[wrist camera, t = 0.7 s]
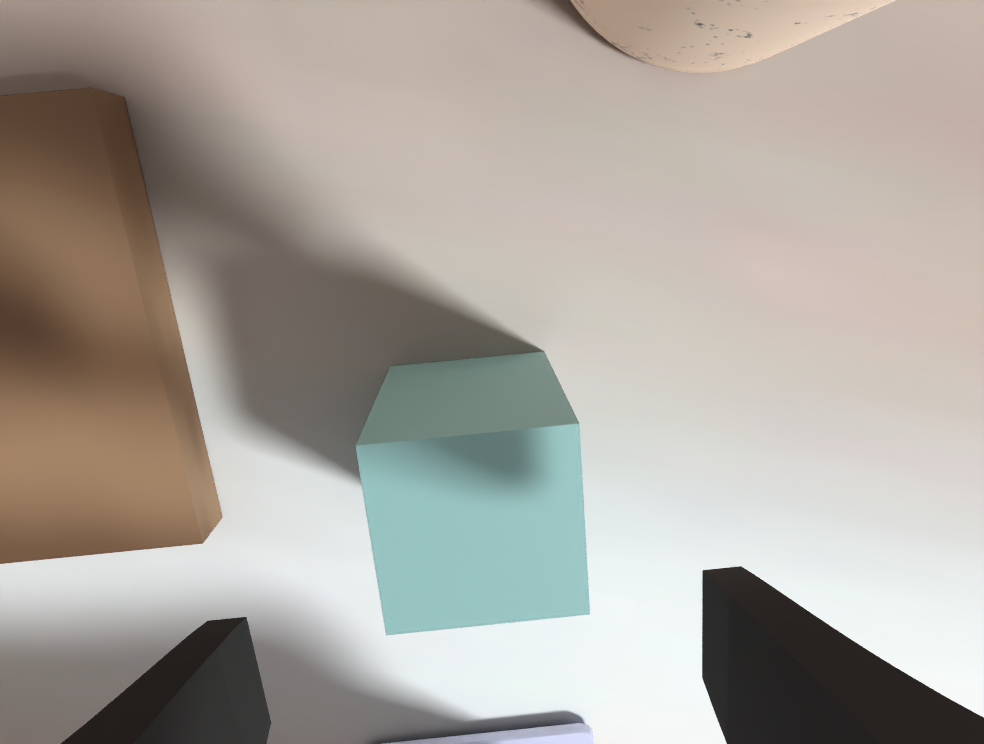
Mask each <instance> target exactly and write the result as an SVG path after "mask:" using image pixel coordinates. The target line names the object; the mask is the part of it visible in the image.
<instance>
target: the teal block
mask: <svg viewBox="0 0 984 744" xmlns="http://www.w3.org/2000/svg"><path fill="white" fill-rule="evenodd" d="M355 447H356V453H357V459H358V466H359V472H360V478H361V484H362V490H363V496H364V502H365V508H366V515H367V521H368V527H369V533H370V539H371V545H372V551H373V557H374V564H375V570H376V576H377V582H378V588H379V594H380V600H381V607H382V613H383V619H384V625H385V631H386V635H394V634H403V633H413V632H423V631H433V630H442V629H452V628H462V627H471V626H481V625H491V624H501V623H510V622H520V621H530V620H539V619H549V618H559V617H569V616H578V615H588V614H590V607H589V589H588V571H587V554H586V536H585V518H584V500H583V482H582V464H581V446H580V428H579V422H578V420H577V418H576V416H575V414H574V412H573V410H572V408H571V406H570V403H569V401H568V399H567V397H566V395H565V393H564V391H563V389H562V387H561V385H560V383H559V381H558V379H557V377H556V375H555V373H554V371H553V369H552V367H551V364H550V362H549V360H548V358H547V356H546V354H545V352H544V351H541V352H531V353H521V354H511V355H500V356H490V357H480V358H470V359H459V360H449V361H439V362H429V363H418V364H408V365H398V366H390V368H389V370H388V373H387V375H386V377H385V379H384V382H383V384H382V386H381V388H380V391H379V393H378V395H377V398H376V400H375V402H374V404H373V407H372V409H371V411H370V413H369V416H368V418H367V420H366V423H365V425H364V427H363V429H362V432H361V434H360V436H359V438H358V441H357V443H356V445H355Z"/></svg>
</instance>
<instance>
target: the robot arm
mask: <svg viewBox="0 0 984 744" xmlns="http://www.w3.org/2000/svg"><path fill="white" fill-rule="evenodd" d="M702 678H703V681H704V683H705V686H706V689H707V692H708V695H709V697H710V700H711V703H712V706H713V708H714V711H715V714H716V716H717V719H718V722H719V724H720V727H721V729H722V732H723V735H724V737H725V740H726V742H727V744H984V718H983V717H982V716H980V715H978V714H976V713H974V712H972V711H970V710H968V709H967V708H965V707H963V706H961V705H959V704H957V703H956V702H954V701H952V700H950V699H948V698H947V697H945V696H943V695H941V694H940V693H938V692H936V691H935V690H933V689H931V688H929V687H928V686H926V685H924V684H923V683H921V682H919V681H918V680H916V679H914V678H912V677H911V676H909V675H907V674H906V673H904V672H902V671H901V670H899V669H897V668H895V667H894V666H892V665H891V664H889V663H887V662H886V661H884V660H882V659H881V658H879V657H878V656H876V655H874V654H873V653H871V652H870V651H868V650H866V649H865V648H863V647H862V646H860V645H859V644H857V643H855V642H854V641H852V640H851V639H849V638H848V637H846V636H845V635H843V634H842V633H840V632H839V631H837V630H835V629H834V628H832V627H831V626H829V625H828V624H826V623H825V622H823V621H822V620H820V619H819V618H817V617H816V616H814V615H813V614H811V613H810V612H809V611H807V610H806V609H804V608H803V607H801V606H800V605H798V604H797V603H795V602H794V601H792V600H791V599H789V598H788V597H786V596H785V595H784V594H782V593H781V592H779V591H778V590H776V589H775V588H773V587H772V586H770V585H769V584H767V583H766V582H764V581H763V580H761V579H760V578H758V577H757V576H755V575H754V574H752V573H751V572H749V571H748V570H746V569H744V568H743V567H741V566H740V567H731V568H721V569H711V570H703V627H702ZM270 725H271V720H270V716H269V712H268V708H267V703H266V699H265V695H264V690H263V686H262V682H261V678H260V673H259V669H258V665H257V660H256V656H255V652H254V648H253V643H252V639H251V635H250V630H249V626H248V622H247V618H246V617H241V618H231V619H222V620H212V621H207V622H206V623H204V624H203V625H202V626H200V627H199V628H198V629H196V630H195V631H194V632H193V633H191V634H190V635H189V636H188V637H187V638H185V639H184V640H183V641H182V642H181V643H179V644H178V645H177V646H176V647H175V648H174V649H172V650H171V651H170V652H169V653H168V654H167V655H165V656H164V657H163V658H162V659H161V660H160V661H158V662H157V663H156V664H155V665H154V666H153V667H151V668H150V669H149V670H148V671H147V672H146V673H145V674H143V675H142V676H141V677H140V678H139V679H138V680H136V681H135V682H134V683H133V684H132V685H131V686H129V687H128V688H127V689H126V690H125V691H124V692H122V693H121V694H120V695H119V696H118V697H117V698H115V699H114V700H113V701H112V702H111V703H109V704H108V705H107V706H106V707H105V708H104V709H102V710H101V711H100V712H99V713H98V714H97V715H95V716H94V717H93V718H92V719H91V720H90V721H88V722H87V723H86V724H85V725H84V726H82V727H81V728H80V729H79V730H77V731H76V732H75V733H74V734H72V735H71V736H70V737H69V738H67V739H66V740H65V741H64V742H62V743H61V744H266V742H267V738H268V734H269V729H270ZM383 744H595V739H594V734H593V731H592V729H591V728H590V726H589V725H586V724H584V723H575V724H565V725H555V726H546V727H536V728H527V729H517V730H508V731H498V732H488V733H479V734H469V735H460V736H450V737H441V738H431V739H422V740H412V741H402V742H393V743H383Z"/></svg>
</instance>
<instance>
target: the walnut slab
mask: <svg viewBox="0 0 984 744" xmlns="http://www.w3.org/2000/svg"><path fill="white" fill-rule="evenodd" d="M221 519H222V513H221V509H220V505H219V500H218V496H217V492H216V488H215V483H214V479H213V475H212V470H211V466H210V462H209V458H208V453H207V449H206V445H205V441H204V436H203V432H202V428H201V423H200V419H199V415H198V411H197V406H196V402H195V398H194V394H193V389H192V385H191V381H190V376H189V372H188V368H187V364H186V359H185V355H184V351H183V346H182V342H181V338H180V334H179V329H178V325H177V321H176V317H175V312H174V308H173V304H172V299H171V295H170V291H169V287H168V282H167V278H166V274H165V269H164V265H163V261H162V257H161V252H160V248H159V244H158V240H157V235H156V231H155V227H154V222H153V218H152V214H151V210H150V205H149V201H148V197H147V193H146V188H145V184H144V180H143V175H142V171H141V167H140V163H139V158H138V154H137V150H136V145H135V141H134V137H133V133H132V128H131V124H130V120H129V116H128V111H127V107H126V103H125V98H124V97H122V96H118V95H115V94H111V93H108V92H104V91H100V90H97V89H93V88H81V89H70V90H59V91H48V92H38V93H27V94H16V95H5V96H0V564H3V563H13V562H23V561H33V560H43V559H53V558H63V557H73V556H83V555H93V554H103V553H113V552H123V551H133V550H143V549H153V548H162V547H172V546H182V545H192V544H202V543H203V542H204V541H205V540H206V538H207V537H208V536H209V535H210V533H211V532H212V531H213V529H214V528H215V527H216V525H217V524H218V523H219V521H220V520H221Z"/></svg>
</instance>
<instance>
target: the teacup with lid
mask: <svg viewBox="0 0 984 744" xmlns="http://www.w3.org/2000/svg"><path fill="white" fill-rule="evenodd" d="M570 1H571V2H572V4H573V5H574V7H575V8H576V9H577V10H578V12H579V13H580V14H581V15H582V17H583V18H584V19H585V20H586V21H587V22H588V23H589V24H590V25H591V26H592V27H593V28H594V29H595V30H596V32H598V33H599V34H600V35H601V36H602V37H604V38H605V39H606V40H607V41H608V42H610V43H611V44H613V45H614V46H616V47H617V48H619V49H620V50H622V51H623V52H625V53H627V54H629V55H631V56H632V57H634V58H636V59H638V60H641V61H643V62H646V63H648V64H651V65H654V66H657V67H661V68H665V69H668V70H675V71H681V72H695V73H705V72H719V71H725V70H731V69H736V68H740V67H743V66H747V65H751V64H754V63H756V62H759V61H761V60H764V59H766V58H769V57H771V56H773V55H775V54H778V53H780V52H782V51H784V50H786V49H789V48H791V47H793V46H795V45H798V44H800V43H802V42H804V41H806V40H809V39H811V38H813V37H815V36H818V35H820V34H822V33H824V32H826V31H829V30H831V29H833V28H835V27H838V26H840V25H842V24H844V23H846V22H849V21H851V20H853V19H855V18H858V17H860V16H862V15H864V14H866V13H869V12H871V11H873V10H875V9H878V8H880V7H882V6H884V5H886V4H889V3H891V2H893V1H895V0H570Z"/></svg>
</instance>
